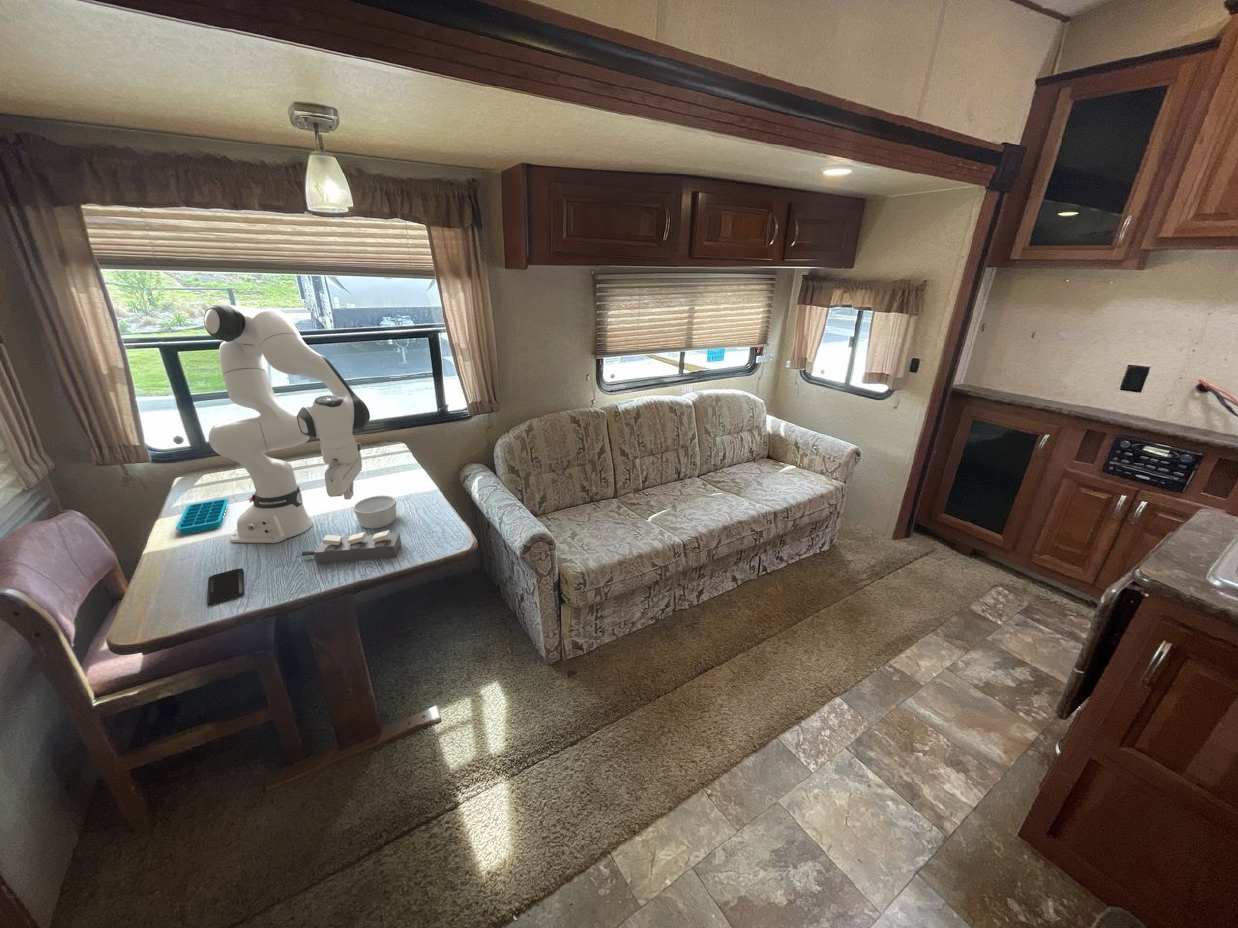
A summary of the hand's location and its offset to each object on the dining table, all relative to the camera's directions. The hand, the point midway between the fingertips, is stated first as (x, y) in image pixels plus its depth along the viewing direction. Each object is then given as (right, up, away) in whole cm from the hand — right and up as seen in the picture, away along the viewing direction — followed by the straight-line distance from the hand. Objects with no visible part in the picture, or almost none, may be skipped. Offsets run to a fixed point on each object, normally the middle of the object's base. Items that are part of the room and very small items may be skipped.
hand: (349, 497), depth 142 cm
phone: (-29, -25, -9) cm, 39 cm away
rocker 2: (0, -13, +5) cm, 14 cm away
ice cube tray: (-63, -10, +25) cm, 69 cm away
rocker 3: (+7, -13, +6) cm, 16 cm away
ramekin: (-5, -10, +26) cm, 29 cm away
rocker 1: (-7, -13, +4) cm, 16 cm away
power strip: (-3, -18, +7) cm, 19 cm away
